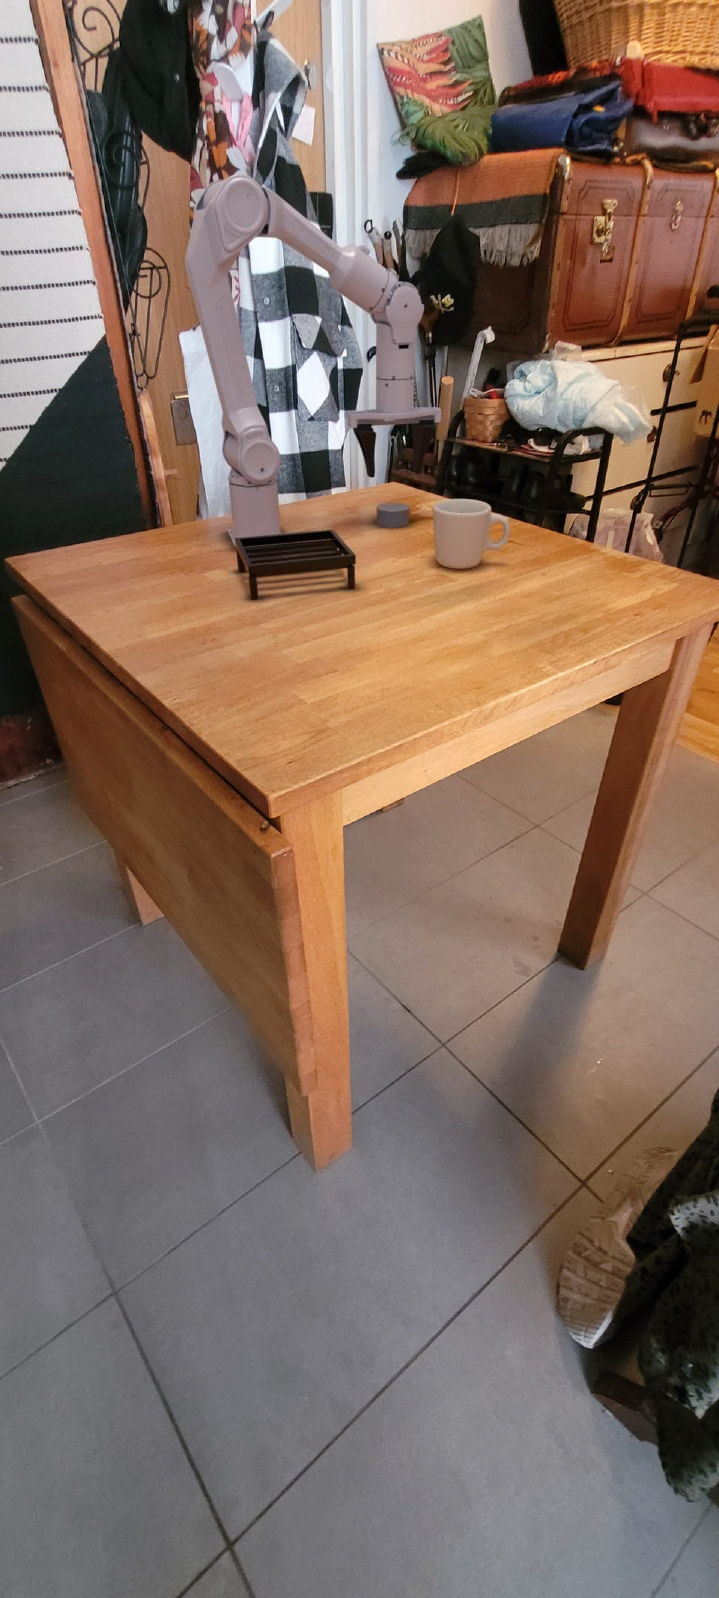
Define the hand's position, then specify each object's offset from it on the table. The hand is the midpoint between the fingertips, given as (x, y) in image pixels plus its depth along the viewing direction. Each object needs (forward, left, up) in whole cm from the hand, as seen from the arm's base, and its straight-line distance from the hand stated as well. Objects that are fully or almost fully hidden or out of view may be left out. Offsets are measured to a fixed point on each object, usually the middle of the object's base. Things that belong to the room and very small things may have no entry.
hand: (393, 474), depth 122 cm
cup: (+23, +4, -8) cm, 25 cm away
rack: (+22, -21, -8) cm, 31 cm away
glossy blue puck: (0, 0, -8) cm, 8 cm away
